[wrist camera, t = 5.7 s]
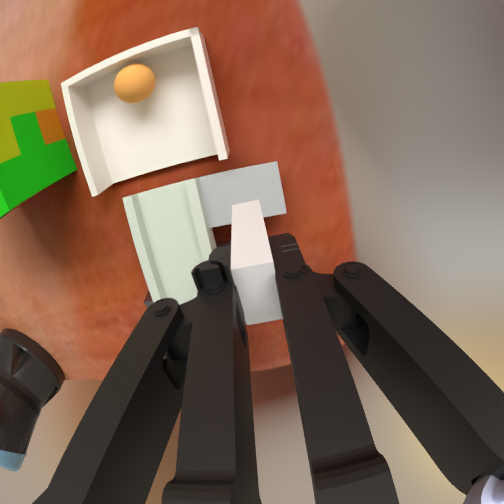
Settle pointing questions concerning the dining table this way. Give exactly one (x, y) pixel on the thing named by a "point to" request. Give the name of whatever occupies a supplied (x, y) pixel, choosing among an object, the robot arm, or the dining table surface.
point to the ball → (134, 83)
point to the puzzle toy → (29, 142)
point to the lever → (193, 223)
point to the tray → (146, 112)
